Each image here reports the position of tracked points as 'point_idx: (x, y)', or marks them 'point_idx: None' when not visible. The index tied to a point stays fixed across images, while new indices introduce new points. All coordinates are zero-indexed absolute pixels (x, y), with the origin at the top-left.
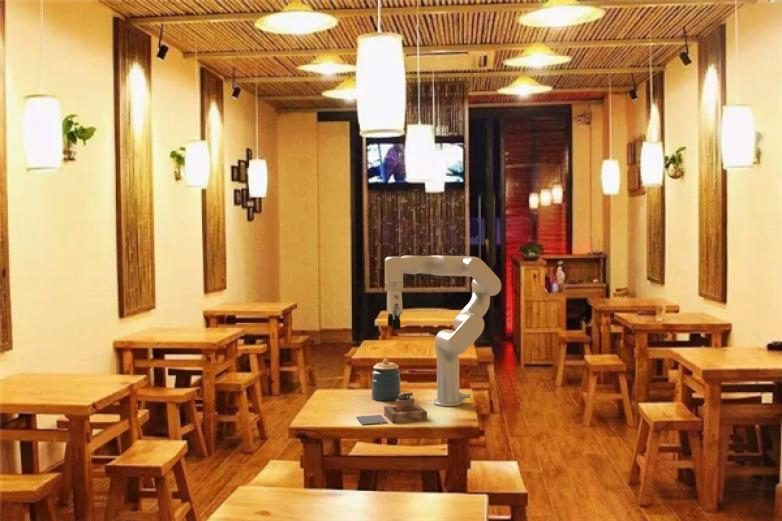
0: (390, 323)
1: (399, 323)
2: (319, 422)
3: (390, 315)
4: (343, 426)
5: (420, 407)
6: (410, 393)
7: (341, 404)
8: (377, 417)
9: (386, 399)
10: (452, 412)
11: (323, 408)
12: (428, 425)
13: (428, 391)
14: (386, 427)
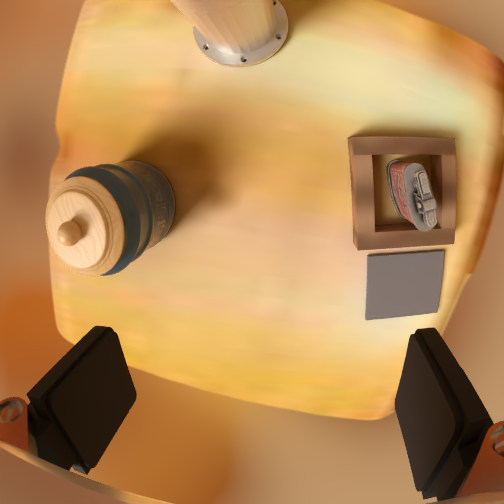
0: (118, 398)
1: (459, 382)
2: (372, 389)
3: (62, 467)
4: None
5: (401, 140)
6: (426, 180)
7: (199, 331)
8: (394, 269)
9: (174, 209)
10: (363, 40)
11: (238, 373)
12: (484, 152)
13: (79, 79)
14: (472, 258)
